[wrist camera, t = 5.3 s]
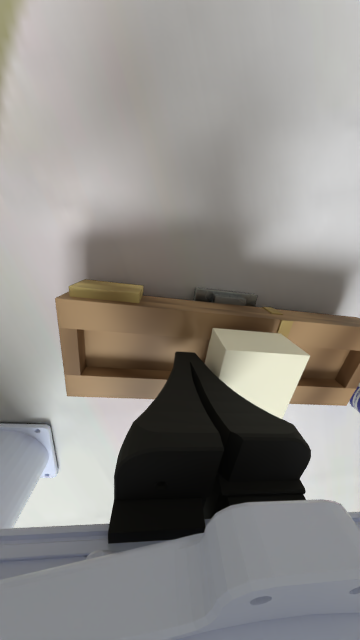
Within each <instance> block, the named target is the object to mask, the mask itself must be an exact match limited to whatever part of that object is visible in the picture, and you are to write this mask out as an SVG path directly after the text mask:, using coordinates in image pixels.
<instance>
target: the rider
mask: <svg viewBox="0 0 360 640" xmlns="http://www.w3.org/2000/svg"><path fill="white" fill-rule="evenodd" d="M309 358H310V355H309V354H307V353H306V352H305V351H303V350H302V349H301V348H299V347H298V346H297V345H295V344H294V343H293V342H291V341H290V340H289V339H287V338H286V337H285V336H283V335H282V334H279V333H267V332H255V331H243V330H232V329H220V328H213V329H212V334H211V339H210V341H209V346H208V350H207V355H206V360H205V365H206V366H207V367H208V368H209V369H210V370H211V371H212V372H213V373H214V374H215V375H216V376H217V377H218V378H219V379H220V380H221V381H222V382H224V383H225V384H226V385H227V386H228V387H230V388H231V389H232V390H233V391H235V392H236V393H238V394H239V395H240V396H242V397H243V398H245V399H246V400H248V401H249V402H251V403H253V404H254V405H256V406H258V407H259V408H261V409H263V410H265V411H267V412H268V413H270V414H272V415H274V416H276V417H278V418H281V419H282V418H283V416H284V413H285V411H286V409H287V407H288V404H289V402H290V400H291V398H292V396H293V393H294V391H295V389H296V387H297V384H298V382H299V380H300V378H301V375H302V373H303V371H304V369H305V366H306V364H307V362H308V360H309Z"/></svg>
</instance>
